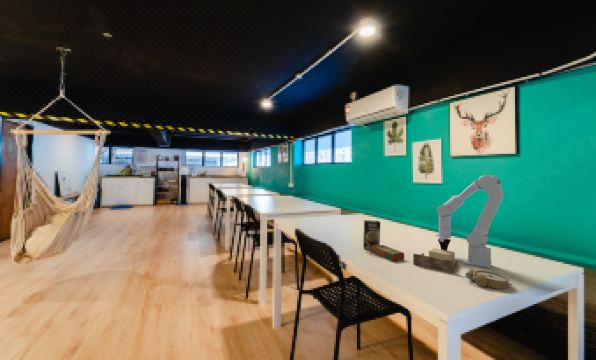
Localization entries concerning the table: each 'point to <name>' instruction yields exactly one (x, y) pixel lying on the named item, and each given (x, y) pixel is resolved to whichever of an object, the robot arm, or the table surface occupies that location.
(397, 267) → the table surface
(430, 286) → the table surface
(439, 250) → the small carton
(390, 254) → the carton
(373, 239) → the coffee box
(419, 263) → the frame
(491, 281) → the alarm clock
